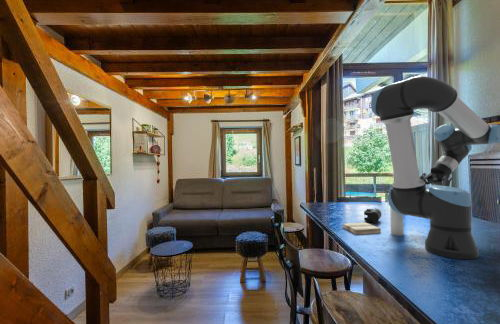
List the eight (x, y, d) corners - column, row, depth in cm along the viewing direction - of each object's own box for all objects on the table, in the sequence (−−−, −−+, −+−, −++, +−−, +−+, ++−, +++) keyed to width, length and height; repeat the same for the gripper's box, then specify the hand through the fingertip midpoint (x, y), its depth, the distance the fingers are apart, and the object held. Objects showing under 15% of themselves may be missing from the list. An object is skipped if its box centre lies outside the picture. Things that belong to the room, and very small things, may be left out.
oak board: (380, 232, 114) (380, 228, 114) (356, 234, 113) (356, 230, 113) (365, 226, 126) (365, 222, 126) (343, 227, 125) (343, 223, 125)
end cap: (379, 225, 128) (378, 212, 128) (364, 223, 132) (363, 210, 132) (381, 220, 136) (381, 208, 136) (367, 219, 140) (367, 207, 140)
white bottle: (406, 235, 110) (405, 201, 110) (396, 235, 109) (395, 202, 109) (398, 232, 115) (397, 199, 115) (388, 232, 114) (387, 200, 114)
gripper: (476, 174, 103) (445, 212, 101) (426, 172, 128) (400, 202, 126) (465, 162, 103) (433, 200, 101) (417, 162, 127) (391, 192, 125)
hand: (415, 201), depth 113 cm, fingers open, 13 cm apart
